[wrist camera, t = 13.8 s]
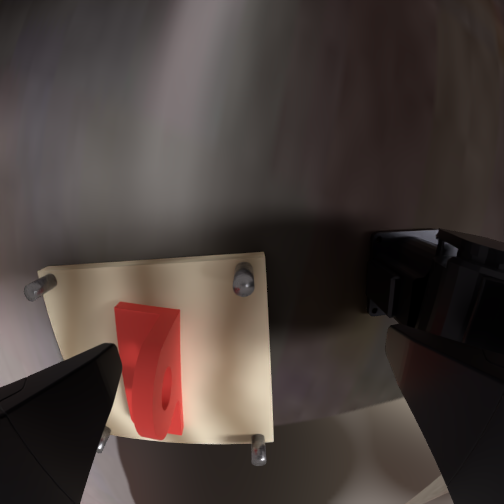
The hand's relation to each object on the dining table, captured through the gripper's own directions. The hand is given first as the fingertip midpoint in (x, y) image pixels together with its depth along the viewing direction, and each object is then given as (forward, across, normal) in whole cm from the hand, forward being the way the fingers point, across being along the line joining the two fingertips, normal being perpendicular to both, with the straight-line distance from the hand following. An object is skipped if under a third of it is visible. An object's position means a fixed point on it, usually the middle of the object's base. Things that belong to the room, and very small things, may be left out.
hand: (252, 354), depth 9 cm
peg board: (+12, +8, +8) cm, 17 cm away
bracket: (+11, +8, +8) cm, 16 cm away
